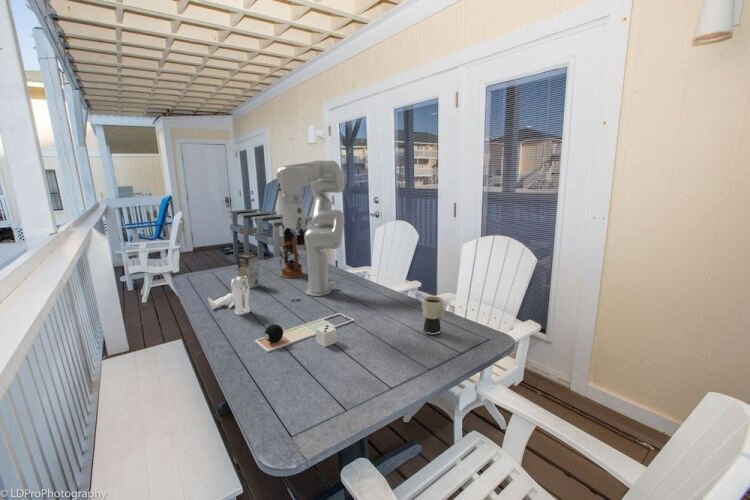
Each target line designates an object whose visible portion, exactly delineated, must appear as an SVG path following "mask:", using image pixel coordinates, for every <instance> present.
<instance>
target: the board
mask: <svg viewBox="0 0 750 500" xmlns="http://www.w3.org/2000/svg"><path fill="white" fill-rule="evenodd" d="M339 314H340V315H339ZM336 315H338V316H341V315H342V316H341V317H343V316H344V317H343V318H345V317H347V318H349V319H351V320H349V319H348V321H344V322H342V323H340V324H336V325H334V324H332V323H331V322H329V321H327V320H329V319H331V318H330V317H332V318H334V317H333V316H335V317H337V316H336ZM328 318H329V319H328ZM347 318H346V319H347ZM325 319H326V320H325ZM353 320H354V321H355V319H354V318H352V317H349V316H348V315H345V314H343V313H341V312H339V313H335V314H332V315H329V316H325V317H322V318H319V319H316V320H313V321H310V322H306V323H304V324H300V325H299V326H294V327H292V328H289V329H286V330H283V337H282V338H281V340H280V341H278V342H275V343H272V342H269V341H268V340H267V339H266V338H265V336H264V337H261V338H258V339H255V340H254V343H255V344H256V345H258V346H259V347H260V348H261V349H263V350H264V351H265V352H266V353H269V352H273V351H275V350H278V349H280V348H283V347H286V346H289V345H292V344H294V343H295V344H296V343H298V342H300V341H303V340H305V339H309V338H312V337H314V336H316V328H319V327H322V326H325V325H330V326H332V327H333V328H335V329H337V328H339V327H342V326H344V325H343V324H345V325H347V324H346V323H348V322H351V321H353ZM354 321H353V322H354ZM351 323H352V322H351ZM348 324H349V323H348ZM341 325H342V326H341ZM338 326H339V327H338ZM336 327H337V328H336Z"/></svg>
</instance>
